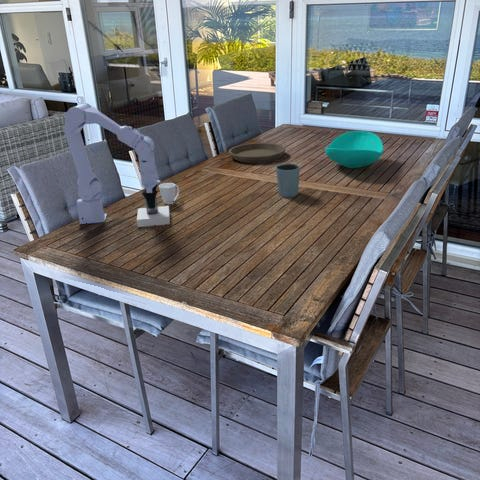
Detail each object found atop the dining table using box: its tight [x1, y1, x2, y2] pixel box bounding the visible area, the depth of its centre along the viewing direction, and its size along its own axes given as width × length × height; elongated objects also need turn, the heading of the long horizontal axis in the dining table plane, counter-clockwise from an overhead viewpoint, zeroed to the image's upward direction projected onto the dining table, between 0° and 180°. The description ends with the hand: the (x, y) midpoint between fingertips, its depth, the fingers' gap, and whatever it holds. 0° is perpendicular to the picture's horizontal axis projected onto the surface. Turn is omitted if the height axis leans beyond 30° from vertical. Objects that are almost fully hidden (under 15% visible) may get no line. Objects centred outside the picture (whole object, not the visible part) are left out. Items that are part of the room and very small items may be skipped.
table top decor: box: [324, 130, 384, 169], centre depth 236 cm, size 40×28×13 cm
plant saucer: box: [228, 142, 286, 164], centre depth 262 cm, size 31×31×5 cm
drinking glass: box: [275, 163, 301, 198], centre depth 204 cm, size 10×10×12 cm
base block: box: [136, 205, 171, 228], centre depth 185 cm, size 12×12×3 cm
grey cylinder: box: [144, 196, 159, 215], centre depth 183 cm, size 4×4×6 cm
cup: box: [158, 182, 180, 205], centre depth 201 cm, size 7×10×8 cm
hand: (152, 204), depth 183 cm, fingers open, 7 cm apart
